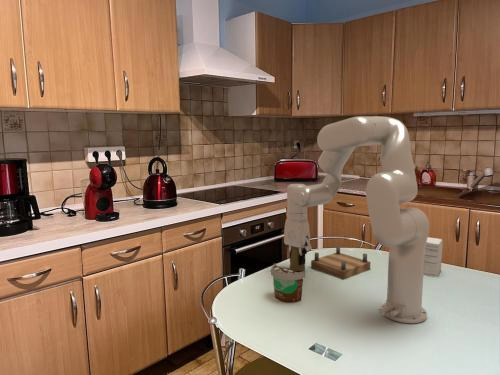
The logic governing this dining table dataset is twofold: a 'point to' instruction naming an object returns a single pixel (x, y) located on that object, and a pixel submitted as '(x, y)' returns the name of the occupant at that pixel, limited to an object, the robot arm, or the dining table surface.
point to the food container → (287, 284)
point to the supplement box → (433, 257)
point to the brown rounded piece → (296, 260)
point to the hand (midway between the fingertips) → (297, 262)
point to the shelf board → (340, 264)
